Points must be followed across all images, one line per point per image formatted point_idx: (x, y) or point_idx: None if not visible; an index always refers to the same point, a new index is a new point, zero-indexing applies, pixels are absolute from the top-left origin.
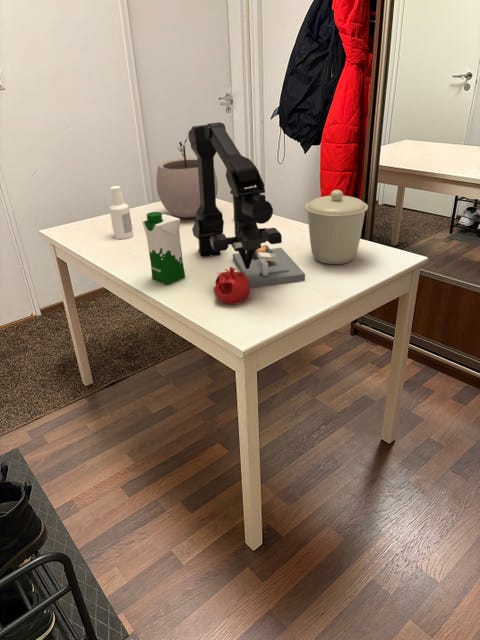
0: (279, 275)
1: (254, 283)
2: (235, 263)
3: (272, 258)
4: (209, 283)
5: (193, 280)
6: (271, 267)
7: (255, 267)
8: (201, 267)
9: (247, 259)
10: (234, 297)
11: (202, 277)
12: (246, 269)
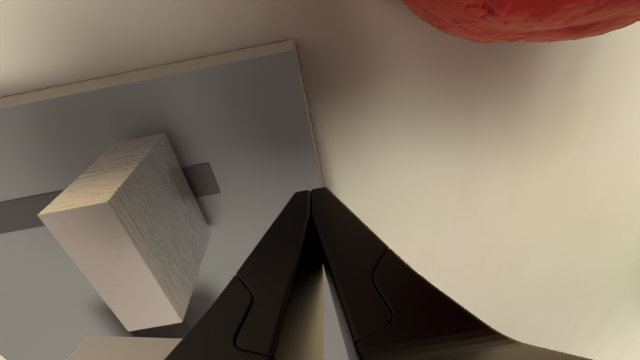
0: (21, 151)
1: (251, 52)
2: None
3: (100, 357)
4: (561, 165)
5: (632, 214)
6: None
7: None
8: (526, 336)
9: (311, 277)
10: None
11: (566, 243)
12: None
